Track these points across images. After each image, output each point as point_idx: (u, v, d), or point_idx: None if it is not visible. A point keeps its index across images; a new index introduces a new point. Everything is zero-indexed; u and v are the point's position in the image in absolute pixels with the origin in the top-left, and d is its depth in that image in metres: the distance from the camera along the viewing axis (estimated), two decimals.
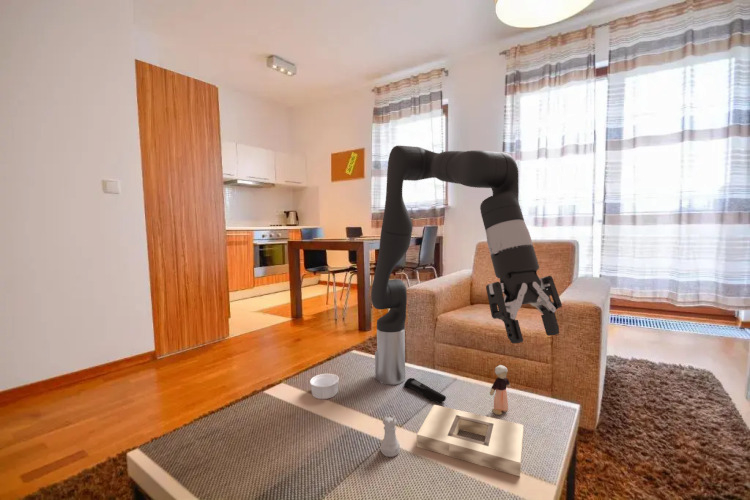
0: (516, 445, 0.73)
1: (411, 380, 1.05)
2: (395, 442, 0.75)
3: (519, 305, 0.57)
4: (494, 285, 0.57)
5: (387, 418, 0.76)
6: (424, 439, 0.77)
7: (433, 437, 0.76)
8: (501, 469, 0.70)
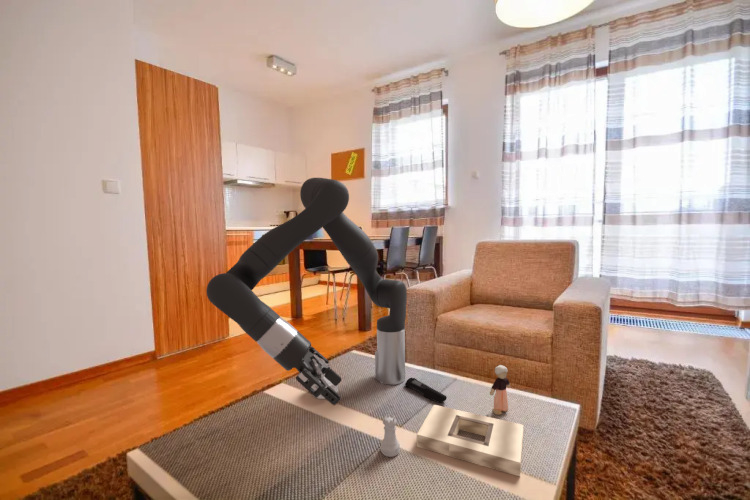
0: (516, 445, 0.73)
1: (412, 380, 1.05)
2: (395, 442, 0.75)
3: None
4: None
5: (387, 418, 0.76)
6: (424, 439, 0.77)
7: (433, 437, 0.76)
8: (501, 469, 0.70)
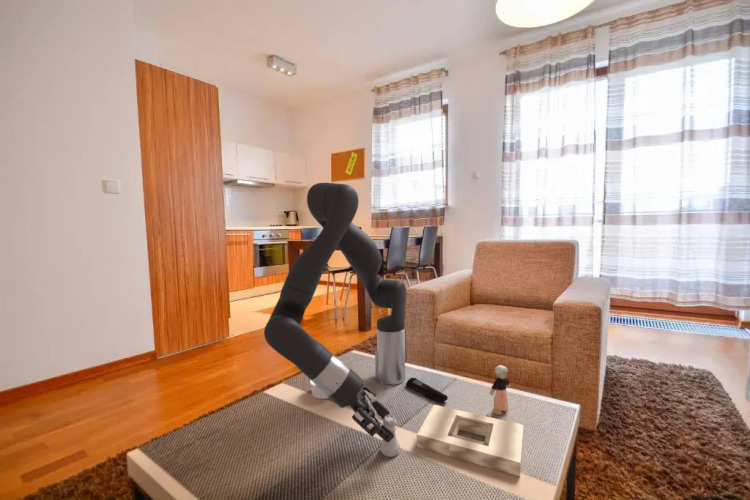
0: (516, 445, 0.73)
1: (413, 380, 1.06)
2: (395, 442, 0.75)
3: None
4: None
5: (387, 418, 0.76)
6: (424, 439, 0.77)
7: (433, 437, 0.76)
8: (501, 469, 0.70)
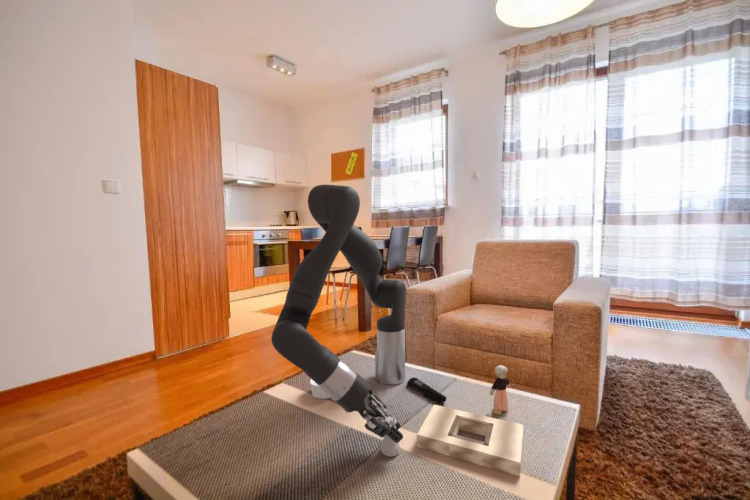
0: (516, 445, 0.73)
1: (413, 379, 1.06)
2: None
3: None
4: None
5: (387, 418, 0.76)
6: (424, 439, 0.77)
7: (433, 437, 0.76)
8: (501, 469, 0.70)
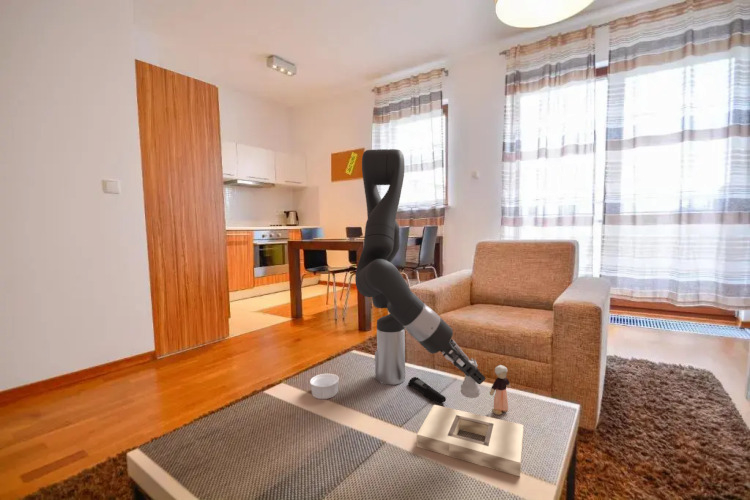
0: (516, 445, 0.73)
1: (415, 379, 1.06)
2: (476, 384, 0.77)
3: None
4: None
5: None
6: (424, 439, 0.77)
7: (433, 437, 0.76)
8: (501, 469, 0.70)
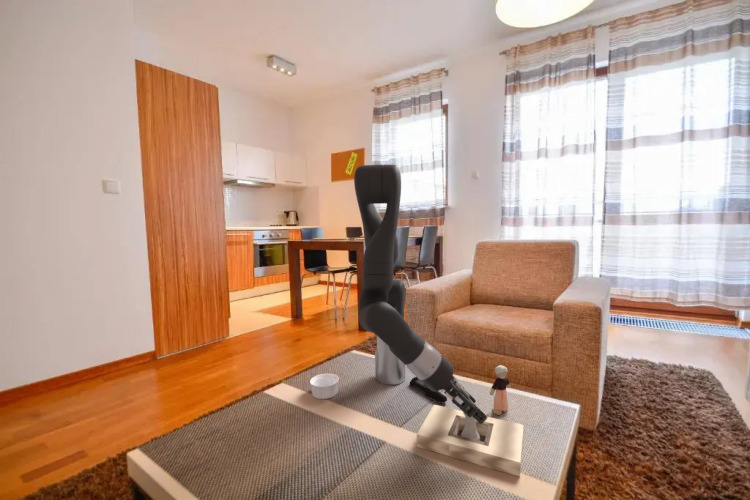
0: (516, 445, 0.73)
1: (416, 379, 1.06)
2: (476, 433, 0.78)
3: None
4: None
5: None
6: (424, 439, 0.77)
7: (433, 437, 0.76)
8: (501, 469, 0.70)
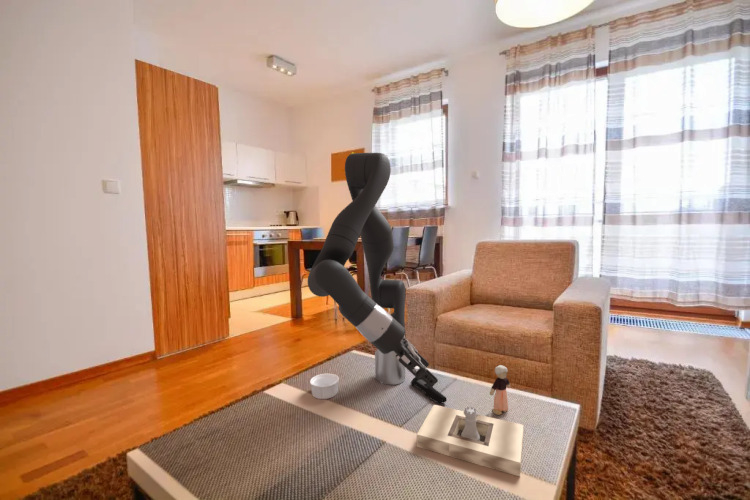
0: (516, 445, 0.73)
1: (417, 379, 1.06)
2: (476, 433, 0.78)
3: None
4: None
5: (468, 410, 0.79)
6: (424, 439, 0.77)
7: (433, 437, 0.76)
8: (501, 469, 0.70)
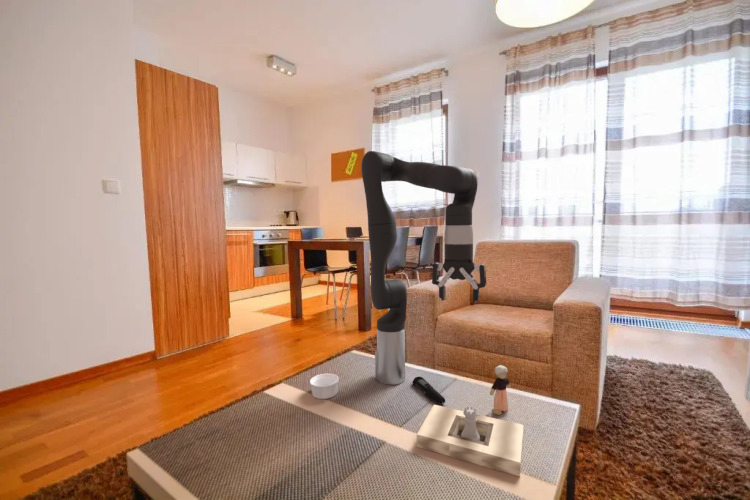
0: (516, 445, 0.73)
1: (418, 378, 1.06)
2: (476, 433, 0.78)
3: (445, 280, 0.92)
4: (433, 265, 0.93)
5: (468, 410, 0.79)
6: (424, 439, 0.77)
7: (433, 437, 0.76)
8: (501, 469, 0.70)
